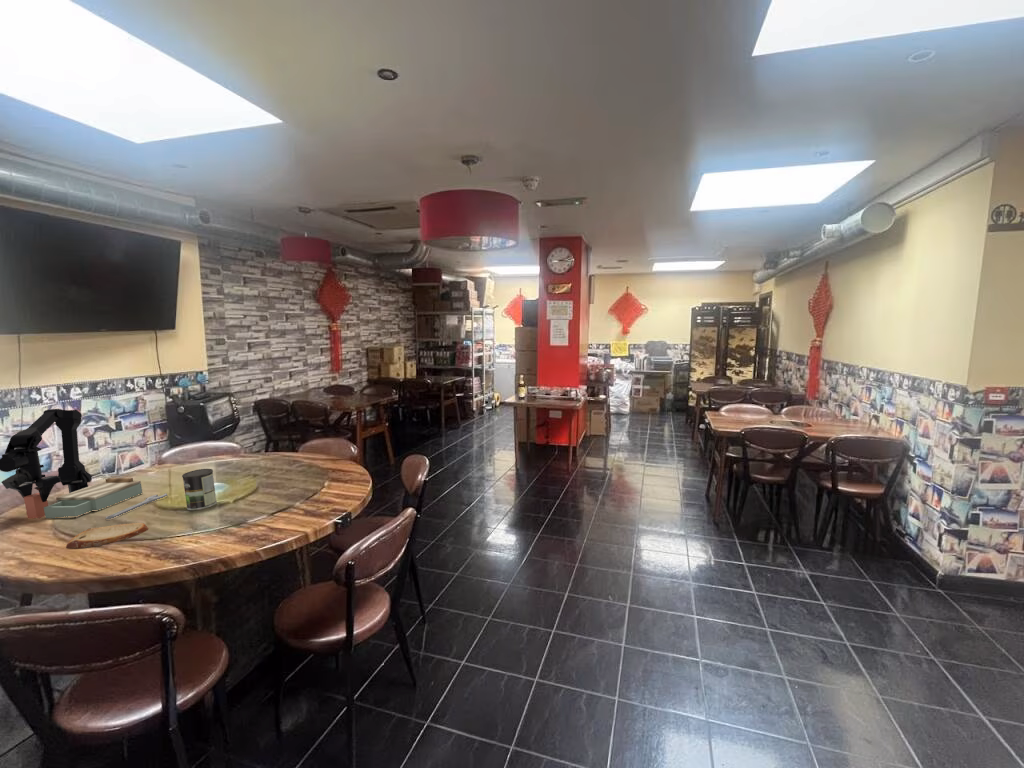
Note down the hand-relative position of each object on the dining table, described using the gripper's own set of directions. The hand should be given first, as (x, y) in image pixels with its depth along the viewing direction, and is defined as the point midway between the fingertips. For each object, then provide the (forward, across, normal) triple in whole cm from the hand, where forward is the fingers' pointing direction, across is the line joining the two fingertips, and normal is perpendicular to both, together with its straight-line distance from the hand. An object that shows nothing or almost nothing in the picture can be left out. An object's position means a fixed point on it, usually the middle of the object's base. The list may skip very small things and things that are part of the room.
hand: (36, 501), depth 179 cm
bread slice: (+6, +52, -18) cm, 56 cm away
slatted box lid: (+1, +13, +14) cm, 19 cm away
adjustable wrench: (+7, +35, +9) cm, 37 cm away
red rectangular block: (+6, 0, 0) cm, 6 cm away
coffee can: (+6, +64, +10) cm, 65 cm away
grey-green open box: (+6, +13, +11) cm, 18 cm away
